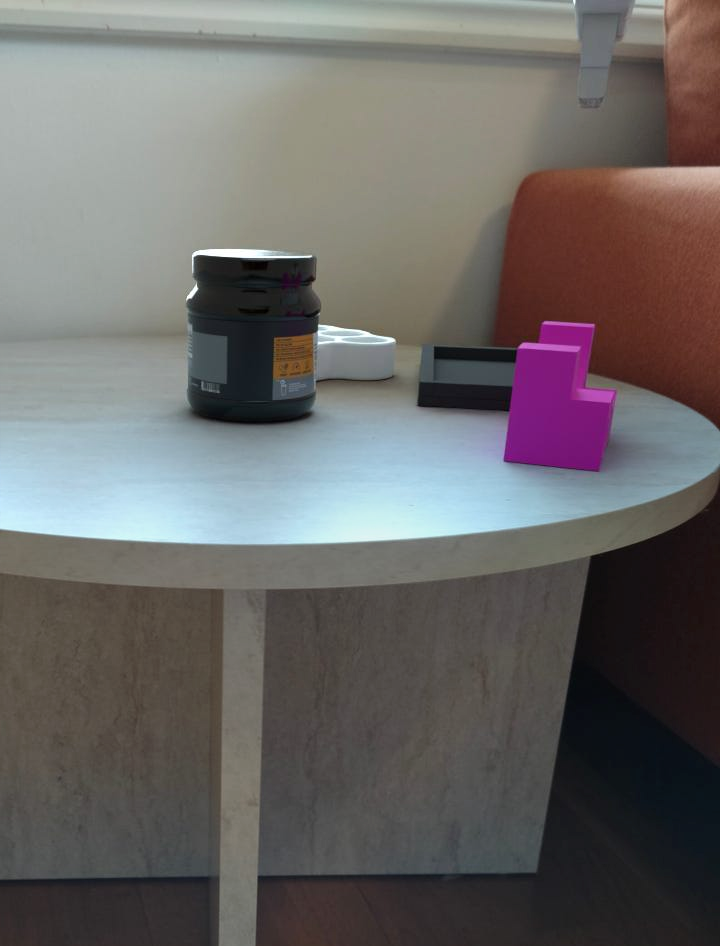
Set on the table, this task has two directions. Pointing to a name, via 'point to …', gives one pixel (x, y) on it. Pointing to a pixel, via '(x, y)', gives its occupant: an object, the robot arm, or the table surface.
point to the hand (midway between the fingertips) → (590, 104)
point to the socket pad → (466, 376)
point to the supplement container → (252, 334)
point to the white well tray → (353, 355)
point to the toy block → (558, 402)
